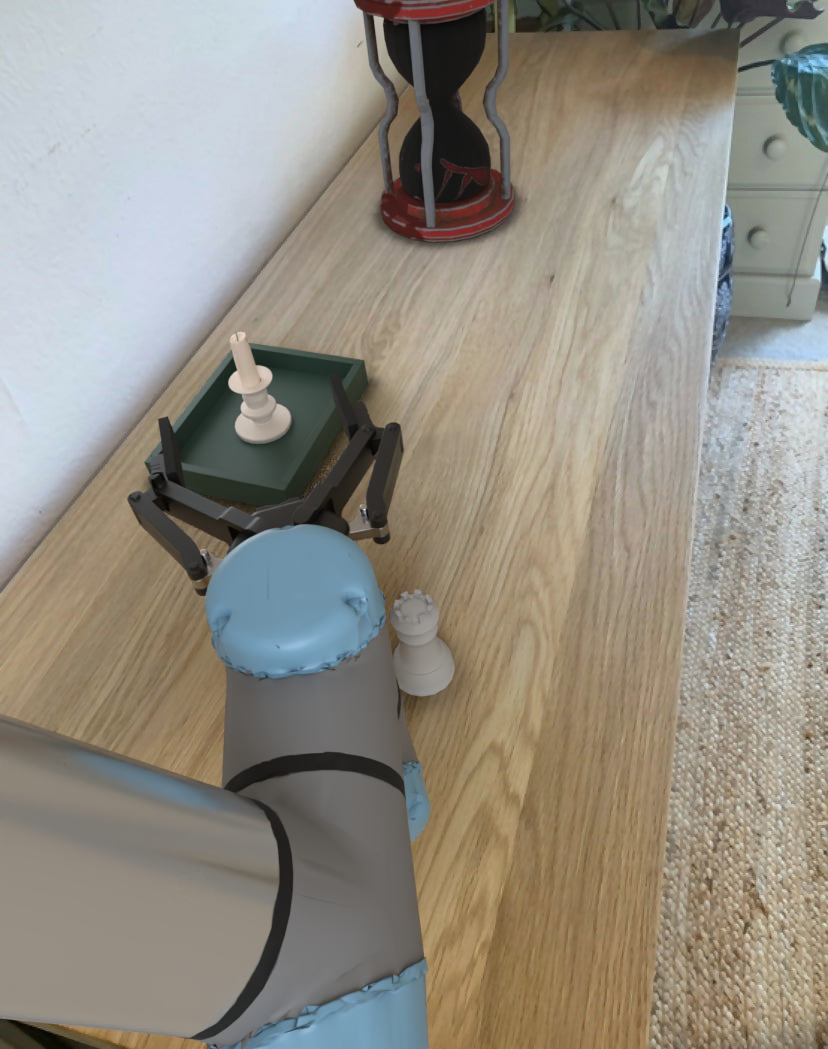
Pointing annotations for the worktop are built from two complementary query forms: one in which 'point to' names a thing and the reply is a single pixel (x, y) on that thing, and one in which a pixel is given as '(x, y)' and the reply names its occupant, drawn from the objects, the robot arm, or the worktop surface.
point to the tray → (277, 466)
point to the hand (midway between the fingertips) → (252, 408)
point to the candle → (255, 397)
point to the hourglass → (441, 118)
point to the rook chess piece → (420, 646)
